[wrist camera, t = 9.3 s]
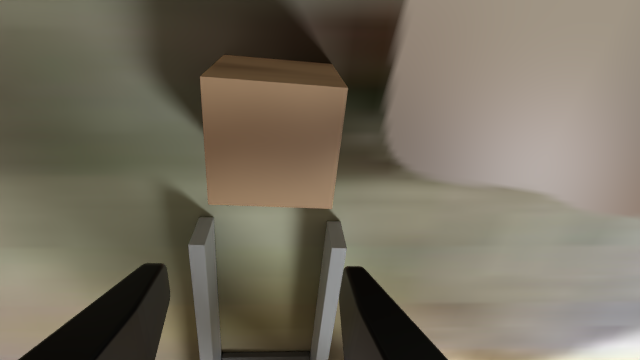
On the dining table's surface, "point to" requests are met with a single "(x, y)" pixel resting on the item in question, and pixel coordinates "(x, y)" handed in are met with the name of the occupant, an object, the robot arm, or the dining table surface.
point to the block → (272, 131)
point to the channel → (208, 304)
